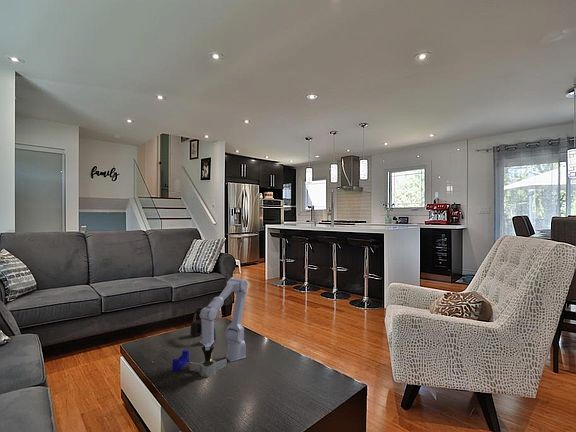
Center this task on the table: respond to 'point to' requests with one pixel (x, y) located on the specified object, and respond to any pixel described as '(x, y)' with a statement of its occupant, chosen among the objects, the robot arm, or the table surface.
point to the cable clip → (180, 361)
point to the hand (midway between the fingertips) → (208, 358)
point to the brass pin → (210, 359)
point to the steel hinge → (208, 367)
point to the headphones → (197, 326)
